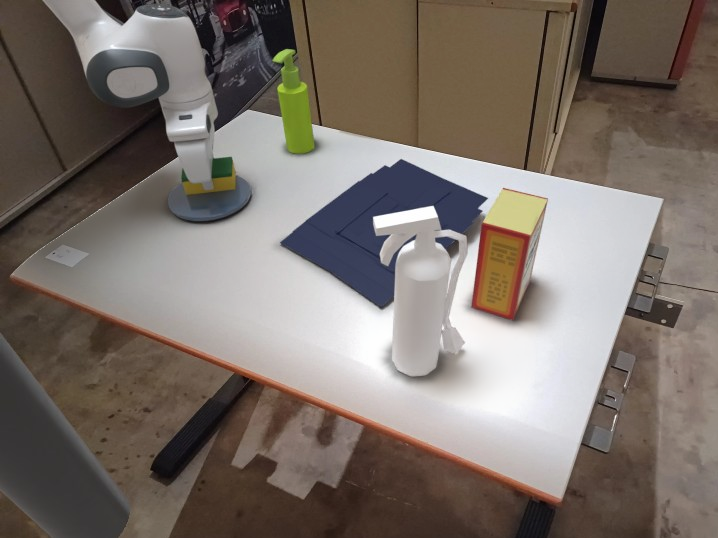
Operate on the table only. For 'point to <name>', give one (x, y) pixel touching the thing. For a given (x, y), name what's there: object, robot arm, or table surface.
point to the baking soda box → (507, 252)
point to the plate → (209, 202)
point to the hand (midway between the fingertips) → (210, 177)
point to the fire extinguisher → (420, 288)
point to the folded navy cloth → (356, 231)
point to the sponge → (214, 177)
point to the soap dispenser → (294, 106)
